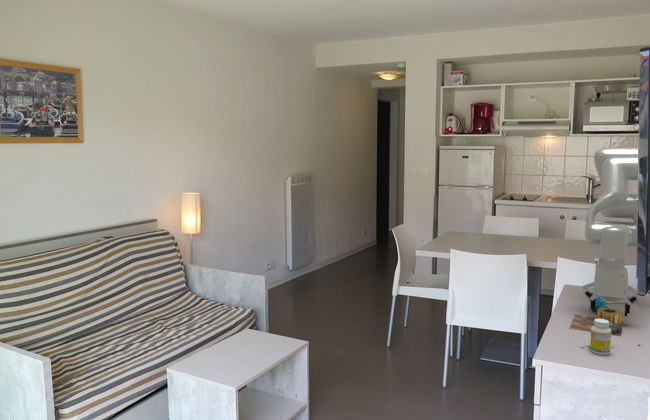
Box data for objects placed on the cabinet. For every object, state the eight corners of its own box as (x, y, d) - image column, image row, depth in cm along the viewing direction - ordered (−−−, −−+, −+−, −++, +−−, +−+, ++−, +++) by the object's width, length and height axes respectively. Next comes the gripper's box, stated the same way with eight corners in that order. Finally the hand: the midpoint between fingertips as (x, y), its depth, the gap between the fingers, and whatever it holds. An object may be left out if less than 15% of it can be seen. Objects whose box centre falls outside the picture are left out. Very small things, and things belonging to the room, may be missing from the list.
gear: (606, 315, 186) (587, 292, 191) (592, 324, 190) (574, 301, 195) (617, 313, 194) (598, 290, 199) (604, 321, 197) (586, 299, 202)
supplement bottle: (607, 356, 155) (609, 324, 154) (587, 352, 158) (589, 321, 157) (612, 351, 159) (613, 320, 158) (592, 347, 162) (594, 316, 161)
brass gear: (592, 319, 184) (593, 307, 184) (613, 318, 185) (614, 307, 184) (604, 326, 177) (605, 314, 177) (626, 325, 177) (626, 314, 177)
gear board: (574, 317, 190) (575, 304, 189) (623, 324, 182) (623, 310, 182) (569, 332, 176) (569, 318, 175) (621, 339, 168) (621, 325, 167)
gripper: (582, 262, 179) (580, 312, 181) (641, 268, 171) (639, 320, 172) (584, 259, 186) (582, 307, 187) (642, 264, 177) (639, 314, 179)
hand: (609, 313), depth 180 cm, fingers open, 9 cm apart
